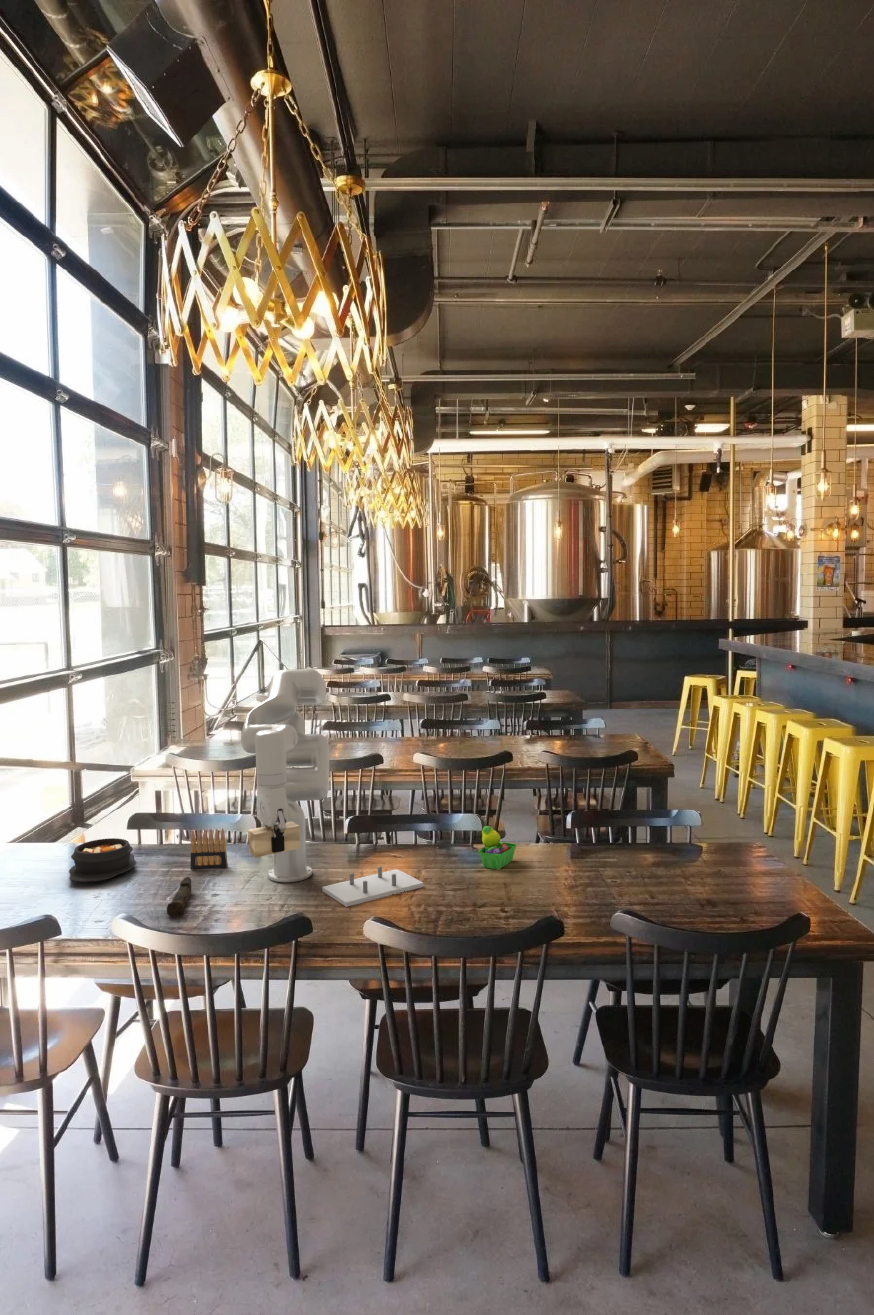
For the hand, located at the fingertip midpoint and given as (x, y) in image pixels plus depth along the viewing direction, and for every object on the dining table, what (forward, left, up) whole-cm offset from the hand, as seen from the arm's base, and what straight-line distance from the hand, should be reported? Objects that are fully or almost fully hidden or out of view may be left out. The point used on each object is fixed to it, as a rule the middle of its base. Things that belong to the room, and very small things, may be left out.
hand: (274, 848), depth 207 cm
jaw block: (0, 0, -1) cm, 1 cm away
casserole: (-60, -30, -17) cm, 69 cm away
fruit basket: (+4, +68, -17) cm, 71 cm away
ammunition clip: (-45, -3, -17) cm, 48 cm away
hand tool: (-22, -18, -17) cm, 33 cm away
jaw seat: (0, +28, -17) cm, 33 cm away
